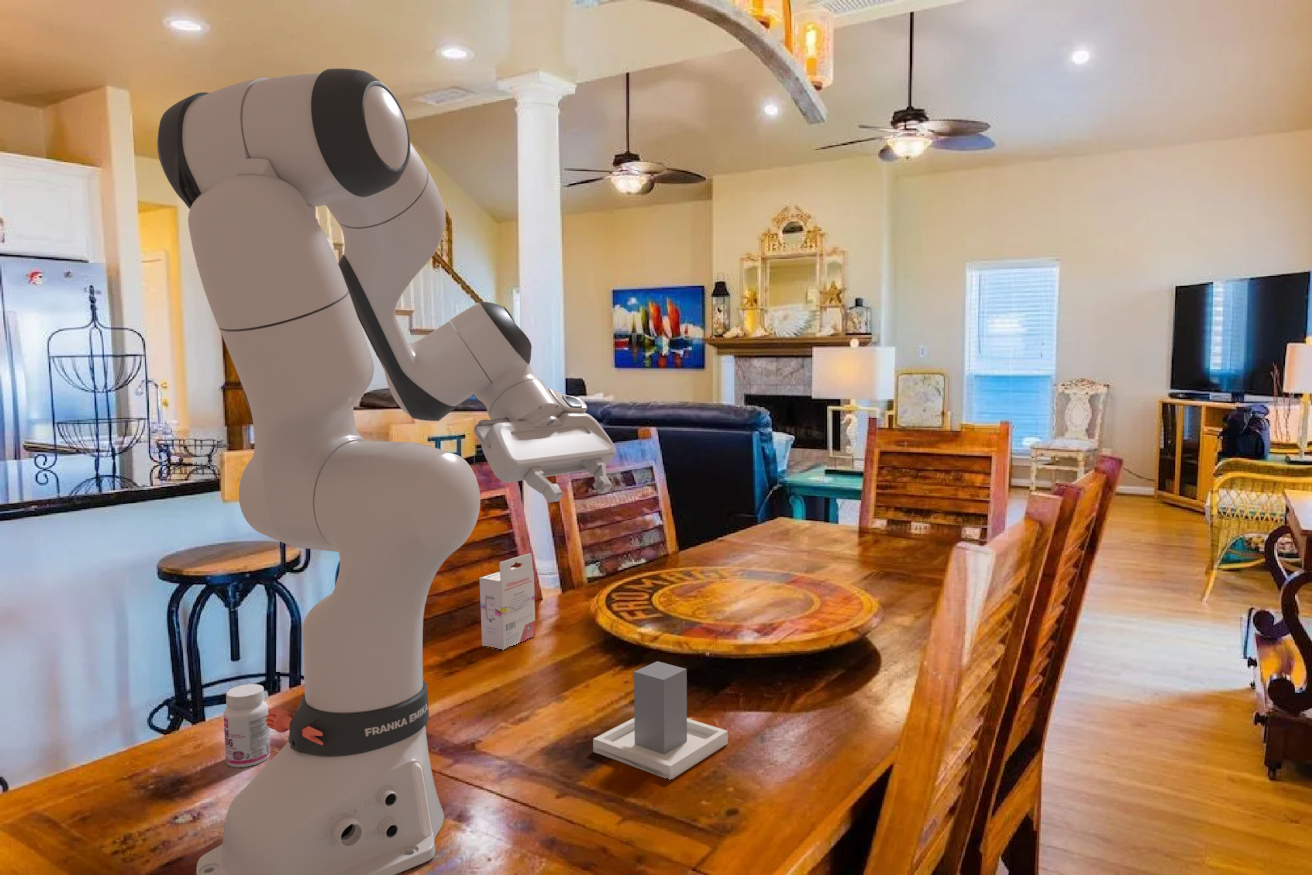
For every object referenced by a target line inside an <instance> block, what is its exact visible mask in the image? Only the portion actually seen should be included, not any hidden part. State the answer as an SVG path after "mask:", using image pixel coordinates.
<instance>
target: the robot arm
mask: <svg viewBox="0 0 1312 875" xmlns="http://www.w3.org/2000/svg"><path fill="white" fill-rule="evenodd" d="M156 144H157V153H158V154H157V155H158V159H159V162H160V165H161V168H162V170H163V173H164V175H165V177H166V179H167V180H168V181H167V182H169V184H170V185H171V188H172V189H173V190H174V192H175V193H176V195H177V196H178V197H179V198H180V199H181V201H182V202H183V203H185V205H186V207H187V208H188V209H189V212H188V217H187V218H188V219H187V223H188V230H189V236H190V241H191V246H192V251H193V255H194V259H195V263H196V268H197V270H198V274H199V276H200V277H199V278H200V280H201V284H202V288H203V290H204V293H205V296H206V298H207V299H206V300H207V302H208V305H209V307H210V311H211V312H212V313H211V314H213V316H214V320H215V322H216V325H217V327H218V329H219V332H220V334H221V336H222V339H223V342H224V343H225V346H226V349H227V351H228V355H229V356H230V359H231V361H232V363H233V365H234V368H235V371H236V373H237V375H238V376H237V377H238V378H239V381H240V383H241V386H242V389H243V391H244V394H245V396H246V399H247V402H248V405H249V408H250V409H249V410H250V413H251V417H252V424H253V432H254V436H253V437H254V451H253V455H252V457H251V459H250V460H249V462H248V463H247V464H246V466H245V468H244V469H243V472H242V474H241V477H240V482H239V486H238V501H239V502H238V503H239V508H240V510H241V513H242V515H243V517H244V519H245V521H246V522H247V524H248V525H249V526H250V527H251V528H252V529H253V530H255V531H256V532H258V533H260V534H261V535H264V536H267V537H269V538H270V539H273V540H276V541H278V542H281V543H283V544H286V545H287V546H292V547H294V548H300V549H309V550H317V551H327V552H334V553H338V555H339V569H338V570H339V571H338V575H337V579H336V582H335V586H334V589H333V591H332V593H331V594H329V595H327V596H326V597H324V598H323V599H322V600H321V599H320V601H318V603H316V604H315V605H314V606H313V607H312V608H311V609H310V610H309V611H308V613H307V614H306V616H305V618H304V620H303V623H302V624H303V625H302V629H301V630H302V632H301V633H302V634H301V635H302V656H303V657H302V658H303V681H304V682H303V683H304V695H303V696H302V698H301V700H300V703H299V705H298V707H297V709H296V712H295V714H293V712H292V711H289V710H286V709H285V708H283V707H281V706H276V707H275V706H274V707H273V708H271V709H270V710H268V713H269V714H268V715H266V717H265V718H268V719H266V720H265V722H266V723H267V724H266V725H267V726H269V729H272V730H275V732H276V733H279V734H280V733H282V734H283V733H286V732H289V735H288V736H287V737H288V738H287V740H288V741H287V742H286V743H285V745H284V746H283V747H282V748H281V749H279V751H278V752H277V753H276V754H275V755H274V757H273V758H271V759H270V761H268V763H267V764H266V765H265V766H264V767H263V768H262V769H261V770H260V771H259V773H258V774H257V775H255V776H254V777H253V779H251V781H250V782H248V784H246V786H245V787H243V789H242V790H241V791H240V792H239V793H237V795H236V796H235V797H234V798H233V799H232V801H231V803H229V804H230V805H229V806H228V810H227V813H226V815H225V821H224V826H223V833H222V834H223V836H222V843H221V844H220V845H218V846H217V847H214V848H213V849H211V850H209V851H208V852H206V853H204V854H203V855H201V857H199V859H198V860H197V864H196V867H195V868H196V871H195V875H397V874H400V873H402V872H404V871H407V870H409V869H411V868H414V867H417V866H420V865H421V864H424V863H426V862H428V861H430V860H431V859H433V858H434V856H435V854H436V843H435V839H436V838H437V835H438V833H439V832H440V830H441V828H442V827H443V825H444V820H445V813H444V809H443V807H442V804H441V801H440V799H439V796H438V792H437V788H436V784H435V781H434V776H433V771H432V766H431V765H432V764H431V760H430V753H429V746H428V745H429V744H428V739H427V738H428V737H427V725H428V721H429V718H430V710H429V709H430V707H429V692H428V683H427V682H426V680H425V679H424V673H423V672H424V671H423V670H424V669H423V666H424V664H423V662H424V660H423V657H424V656H423V655H424V653H423V652H424V650H423V645H424V644H423V642H424V641H423V639H424V638H423V636H424V635H423V633H424V632H423V630H424V629H423V628H424V615H425V607H426V602H427V598H428V595H429V590H430V588H431V585H432V584H433V581H434V579H435V576H436V575H437V573H438V571H439V570H440V568H441V567H442V565H443V563H444V562H445V561H446V560H447V559H448V558H449V557H450V556H451V555H452V554H453V553H455V552H456V551H457V550H458V549H460V548H461V547H462V546H463V545H464V544H465V542H466V541H467V540H468V538H469V537H470V536H471V534H472V532H473V531H474V529H475V527H476V525H477V522H478V518H479V516H480V515H479V514H480V511H481V510H480V509H481V492H480V487H479V486H480V485H479V483H478V479H477V476H476V474H475V473H474V470H473V469H472V467H471V465H470V464H469V463H468V462H467V461H466V459H464V458H463V457H462V456H460V455H458V454H456V453H454V452H450V451H447V450H444V449H441V448H437V447H434V446H432V445H431V446H430V445H426V444H423V443H419V442H411V441H410V442H408V441H388V440H387V441H383V440H367V439H364V438H363V437H362V435H361V434H360V432H359V431H358V428H357V426H356V421H355V420H356V419H355V414H354V413H355V412H354V405H355V403H357V402H358V401H359V400H360V398H362V396H363V395H364V394H365V393H366V391H367V390H368V388H369V387H370V385H371V384H372V381H373V378H374V373H375V365H374V364H375V363H374V360H373V357H372V353H371V350H370V347H369V345H368V342H367V340H368V341H369V343H370V345H371V347H372V349H373V351H374V353H375V355H376V357H377V359H378V360H379V362H380V364H381V366H382V368H383V371H384V375H385V379H386V383H387V386H388V389H389V391H390V394H391V395H392V397H393V399H394V402H396V403H397V405H398V406H399V408H401V410H402V411H403V412H404V413H405V414H407V415H408V416H410V418H411V419H414V420H420V421H427V422H428V421H429V422H440V421H441V420H442V419H443V418H444V417H446V416H447V415H448V414H449V413H451V412H453V411H454V410H455V409H456V408H458V406H459V405H460V404H462V403H463V402H464V401H466V400H468V399H469V398H471V397H472V396H475V398H476V399H478V400H479V401H480V402H481V403H482V404H483V405H484V406H485V408H486V411H487V412H486V413H487V415H488V417H489V419H481V420H479V421H478V423H476V424H475V425H474V435H475V436H476V437H477V438H476V439H477V440H478V441H479V443H480V445H481V449H482V452H483V455H484V457H485V459H486V462H487V463H488V466H489V467H490V469H491V470H492V472H493V474H494V476H495V477H496V478H497V479H499V480H500V481H501V482H503V483H505V484H506V483H507V484H509V483H514V482H521V481H525V482H526V485H528V486H529V487H530V488H532V489H533V490H535V491H537V492H538V493H539V494H542V496H543V498H544V499H545V500H546V502H547V503H549V504H550V503H556V502H559V501H560V500H561V498H562V497H563V496H564V493H563V490H562V489H561V488H560V486H559V484H558V483H552V482H551V481H550V480H549V479H548V478H547V477H553V476H561V475H566V474H575V473H581V472H582V473H583V472H588V473H589V475H590V476H593V478H594V480H595V481H594V482H593V483H592V486H593V488H594V489H595V490H596V492H597V494H600V495H601V494H605V493H608V492H609V491H610V490H611V489H612V488H613V484H612V481H611V480H610V478H609V477H608V476H607V466H608V464H610V462H611V461H612V460H613V458H614V457H615V455H616V447H615V444H614V443H613V440H611V437H610V436H609V435H608V434H607V432H606V431H605V430H604V428H603V426H602V425H601V424H600V423H599V422H598V420H597V419H596V418H594V417H593V416H592V415H591V414H589V413H586V412H587V410H588V406H587V404H586V403H585V401H584V400H583V399H581V398H580V397H575V396H571V395H567V394H564V393H561V392H558V391H556V390H555V389H552V388H548V387H547V385H546V384H545V383H544V382H543V380H541V379H540V378H539V377H537V376H536V374H534V372H533V370H532V366H531V364H530V363H531V361H532V360H531V359H532V358H531V357H532V346H533V345H532V343H531V341H530V339H529V337H528V336H527V335H526V334H525V332H524V331H523V330H522V329H521V328H520V327H519V326H518V325H517V323H516V321H515V320H514V318H513V316H512V314H511V313H510V312H509V310H508V309H507V308H506V307H505V306H503V305H500V304H497V303H494V302H488V301H480V302H478V303H476V304H473V305H472V306H469V307H468V308H467V309H465V310H463V311H462V312H460V313H458V314H457V315H456V316H454V317H453V318H451V319H449V321H447V322H445V323H444V324H442V325H440V326H439V327H437V328H436V329H435V330H433V331H432V332H430V333H428V334H426V335H425V336H424V337H422V338H420V339H418V340H417V341H414V342H411V343H408V342H407V341H408V340H407V339H406V337H405V334H404V332H403V330H402V328H401V326H400V324H399V322H398V321H399V320H398V319H397V316H396V315H397V314H396V310H397V305H398V302H399V301H400V298H401V297H402V295H403V293H404V291H405V290H406V289H407V287H408V286H409V285H410V284H411V282H412V281H413V279H414V278H415V277H416V276H417V275H418V273H419V272H420V271H421V270H422V269H423V268H424V267H425V266H426V265H427V264H428V263H429V262H430V260H431V259H432V258H433V257H434V255H435V253H436V252H437V250H438V248H439V246H440V245H441V244H440V243H441V241H442V238H443V236H444V232H445V227H446V220H447V218H446V217H447V214H446V206H445V204H444V201H443V199H442V196H441V194H440V191H439V189H438V186H437V184H436V182H435V180H434V178H433V177H432V175H431V173H430V171H429V169H428V168H427V166H426V165H425V163H424V161H423V159H422V158H421V156H420V154H419V153H418V152H417V150H416V149H415V147H414V145H413V144H412V143H411V136H410V130H409V126H408V121H407V118H406V116H405V113H404V110H403V108H402V106H401V104H400V102H399V100H398V99H397V97H396V96H395V94H394V93H393V92H392V90H391V89H390V88H389V87H388V86H387V85H385V83H383V82H382V81H380V79H378V78H377V77H376V76H374V75H373V74H371V73H369V72H368V71H365V70H361V69H353V68H328V69H324V70H323V71H321V73H305V74H304V73H300V74H293V75H292V74H291V75H285V76H278V77H273V78H272V77H268V76H267V77H266V76H265V77H257V78H253V79H249V80H244V81H242V82H238V83H234V84H231V85H228V86H224V87H222V88H220V89H219V88H218V89H216V90H214V91H212V92H205V91H204V92H198V93H194V94H192V95H190V96H187V97H186V98H183V99H181V100H180V101H178V102H176V103H174V104H172V106H169V108H168V109H166V111H164V113H163V114H162V116H161V118H160V121H159V126H158V131H157V140H156ZM322 206H325V207H326V208H327V210H328V211H330V214H331V215H332V217H333V218H334V220H336V222H337V223H338V226H339V227H340V229H341V231H342V235H343V241H344V249H343V250H344V251H343V254H342V255H341V257H340V260H339V262H338V260H337V259H336V255H335V253H334V252H333V250H332V247H331V244H330V243H329V241H328V239H327V237H326V235H325V232H324V231H323V229H322V227H321V225H320V223H319V221H318V219H317V218H316V216H317V214H316V210H317V209H316V207H317V208H318V207H322ZM365 335H366V337H367V339H366V337H365Z"/></svg>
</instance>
